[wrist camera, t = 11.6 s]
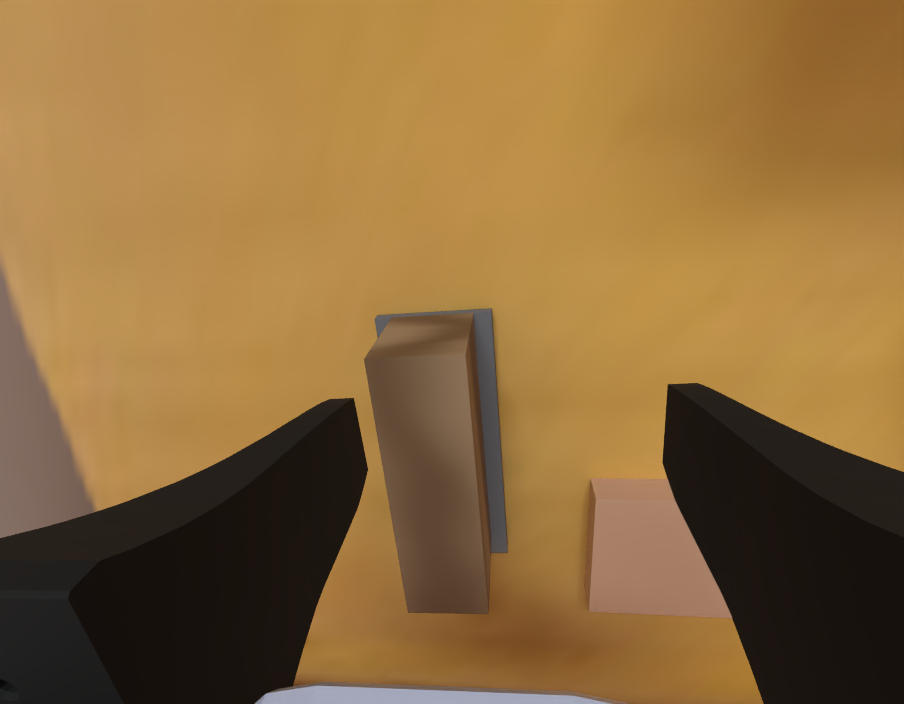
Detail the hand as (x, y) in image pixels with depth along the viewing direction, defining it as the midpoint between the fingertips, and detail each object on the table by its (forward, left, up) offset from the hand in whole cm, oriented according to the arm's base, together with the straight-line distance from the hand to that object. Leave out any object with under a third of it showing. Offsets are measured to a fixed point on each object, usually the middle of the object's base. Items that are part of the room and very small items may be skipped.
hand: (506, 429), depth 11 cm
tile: (-8, +9, -10) cm, 15 cm away
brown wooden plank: (+3, +6, -10) cm, 12 cm away
